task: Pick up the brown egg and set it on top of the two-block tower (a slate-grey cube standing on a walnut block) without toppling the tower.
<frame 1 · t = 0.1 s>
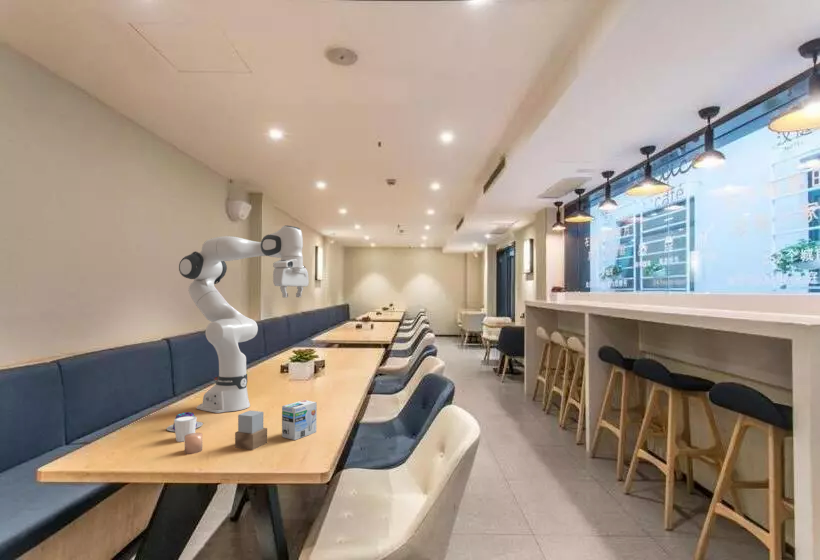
hand: (292, 297, 179), 48 cm above the table, fingers open, 8 cm apart
shot glass: (185, 439, 147), on the table
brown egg: (193, 451, 136), on the table
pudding: (184, 428, 161), on the table
tower base: (251, 445, 141), on the table, touching tower mid
tower mid: (250, 430, 141), point 5 cm above the table, touching tower base
light bulb box: (299, 435, 151), on the table
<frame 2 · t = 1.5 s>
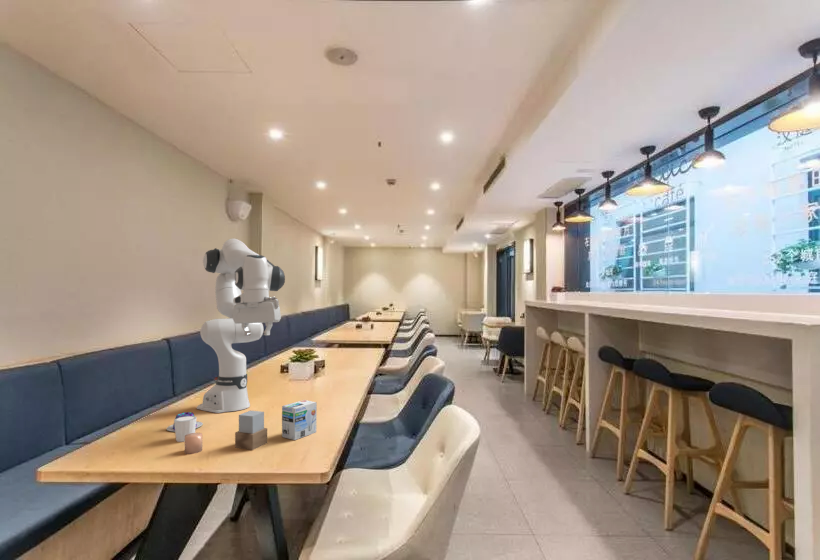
hand: (257, 335, 158), 34 cm above the table, fingers open, 8 cm apart
nothing on the table moved.
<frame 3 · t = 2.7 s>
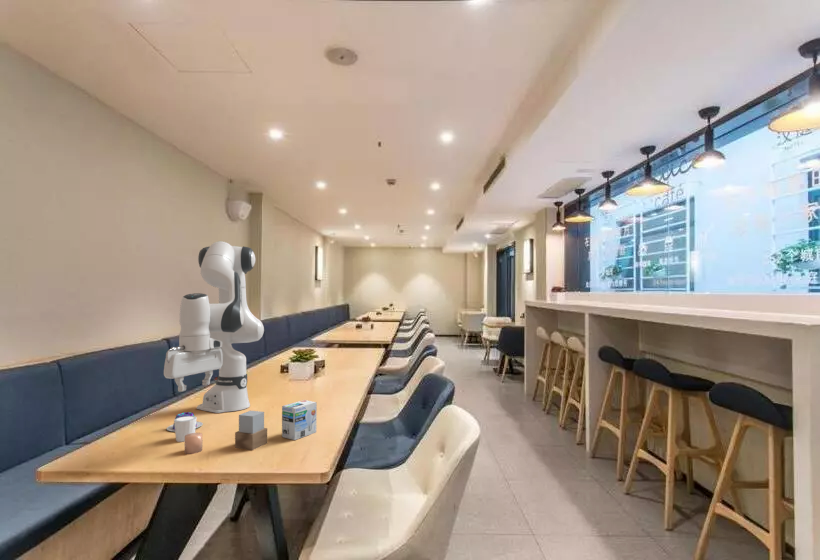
hand: (194, 388, 137), 20 cm above the table, fingers open, 8 cm apart
nothing on the table moved.
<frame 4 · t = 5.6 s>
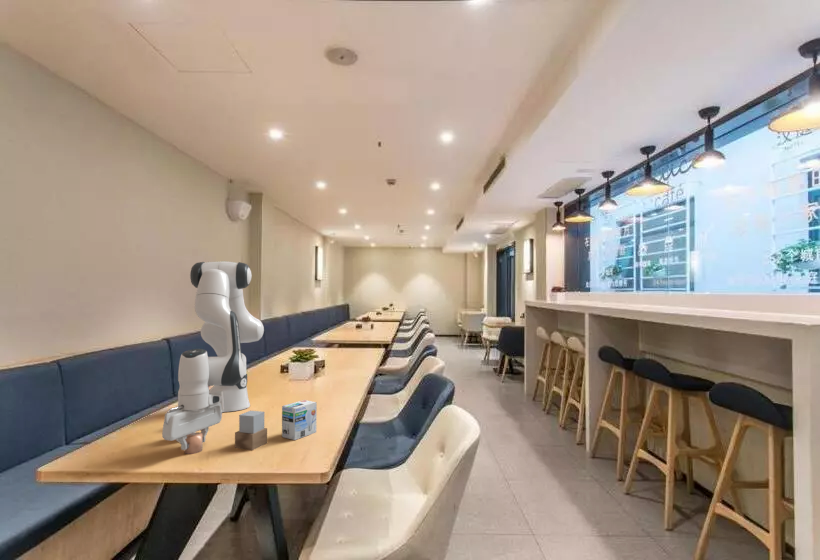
hand: (193, 445, 136), 2 cm above the table, fingers closed on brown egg, 5 cm apart
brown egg: (193, 450, 136), on the table, touching gripper
everything else where it was.
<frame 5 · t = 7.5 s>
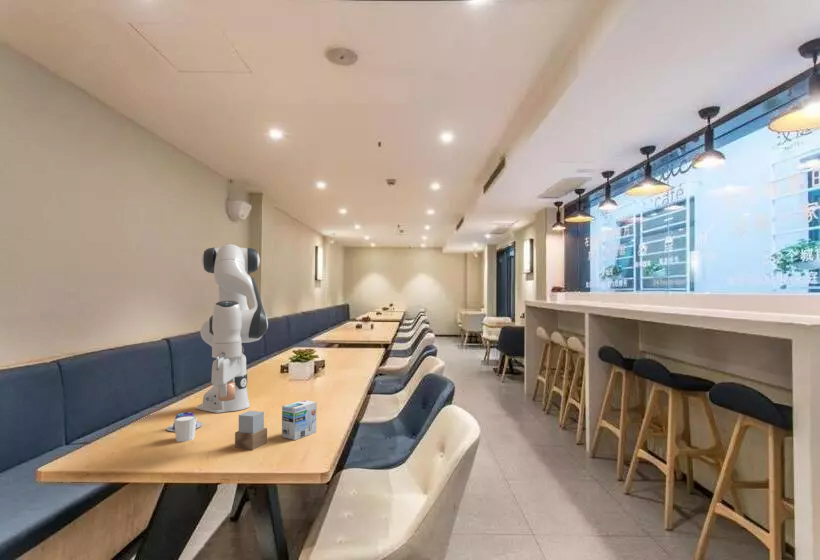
hand: (226, 394, 139), 17 cm above the table, fingers closed on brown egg, 5 cm apart
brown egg: (226, 399, 139), point 15 cm above the table, touching gripper
everything else where it was.
when the fingers open (13 cm above the table, at t = 9.4 s): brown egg drops 1 cm, resting on tower mid.
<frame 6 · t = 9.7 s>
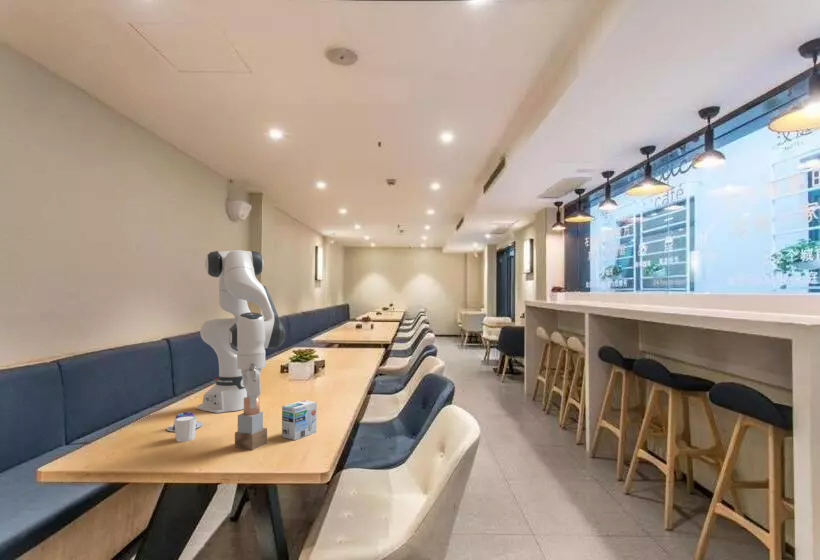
hand: (251, 404, 141), 13 cm above the table, fingers open, 7 cm apart
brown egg: (251, 413, 141), point 10 cm above the table, touching tower mid
tower mid: (250, 430, 140), point 5 cm above the table, touching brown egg, tower base
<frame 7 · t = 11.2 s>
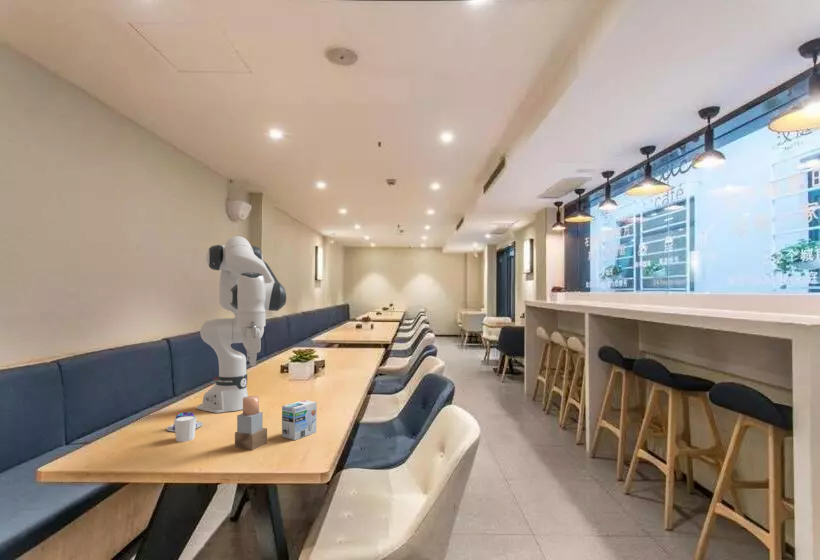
hand: (251, 363, 142), 27 cm above the table, fingers open, 8 cm apart
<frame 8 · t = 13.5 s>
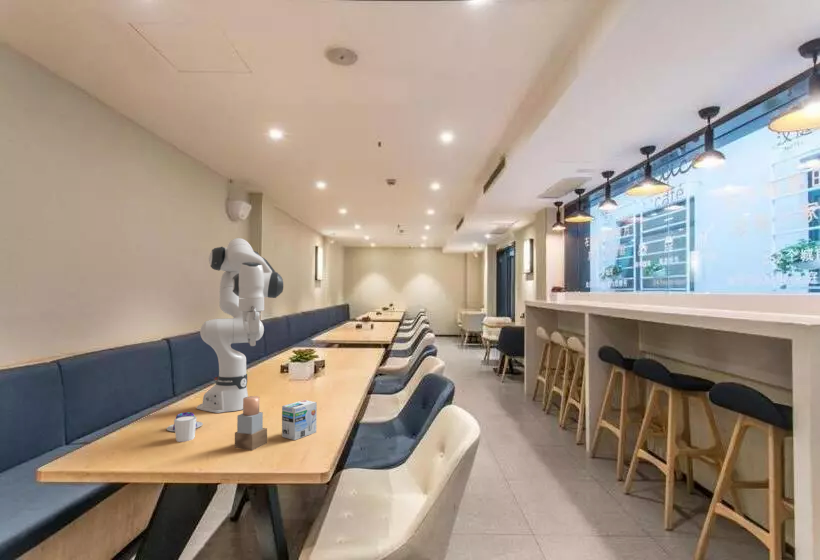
hand: (251, 344, 156), 31 cm above the table, fingers open, 8 cm apart
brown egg: (251, 413, 141), point 10 cm above the table
tower mid: (250, 430, 140), point 5 cm above the table, touching tower base
at the end: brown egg 0.0 cm off-centre on the tower base, point 10.5 cm above the tower base's base; tower mid tilted 0°; the gripper is holding nothing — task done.
